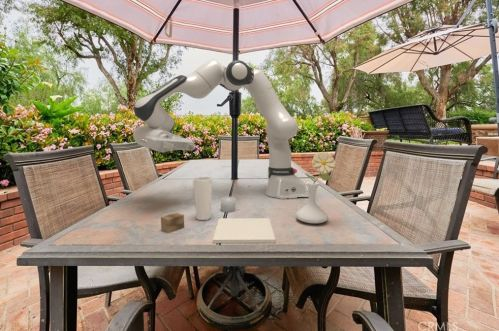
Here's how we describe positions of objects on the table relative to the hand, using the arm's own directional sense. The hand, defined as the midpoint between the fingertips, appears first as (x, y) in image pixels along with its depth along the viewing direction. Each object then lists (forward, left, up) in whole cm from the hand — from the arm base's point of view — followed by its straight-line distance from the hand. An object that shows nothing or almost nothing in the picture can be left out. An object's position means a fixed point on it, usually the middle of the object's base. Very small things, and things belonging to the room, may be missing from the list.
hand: (184, 147), depth 96 cm
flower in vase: (-48, +10, -26) cm, 55 cm away
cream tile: (-23, +19, -26) cm, 39 cm away
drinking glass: (-8, +7, -26) cm, 28 cm away
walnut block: (0, +17, -26) cm, 31 cm away
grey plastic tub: (-16, -3, -26) cm, 31 cm away
